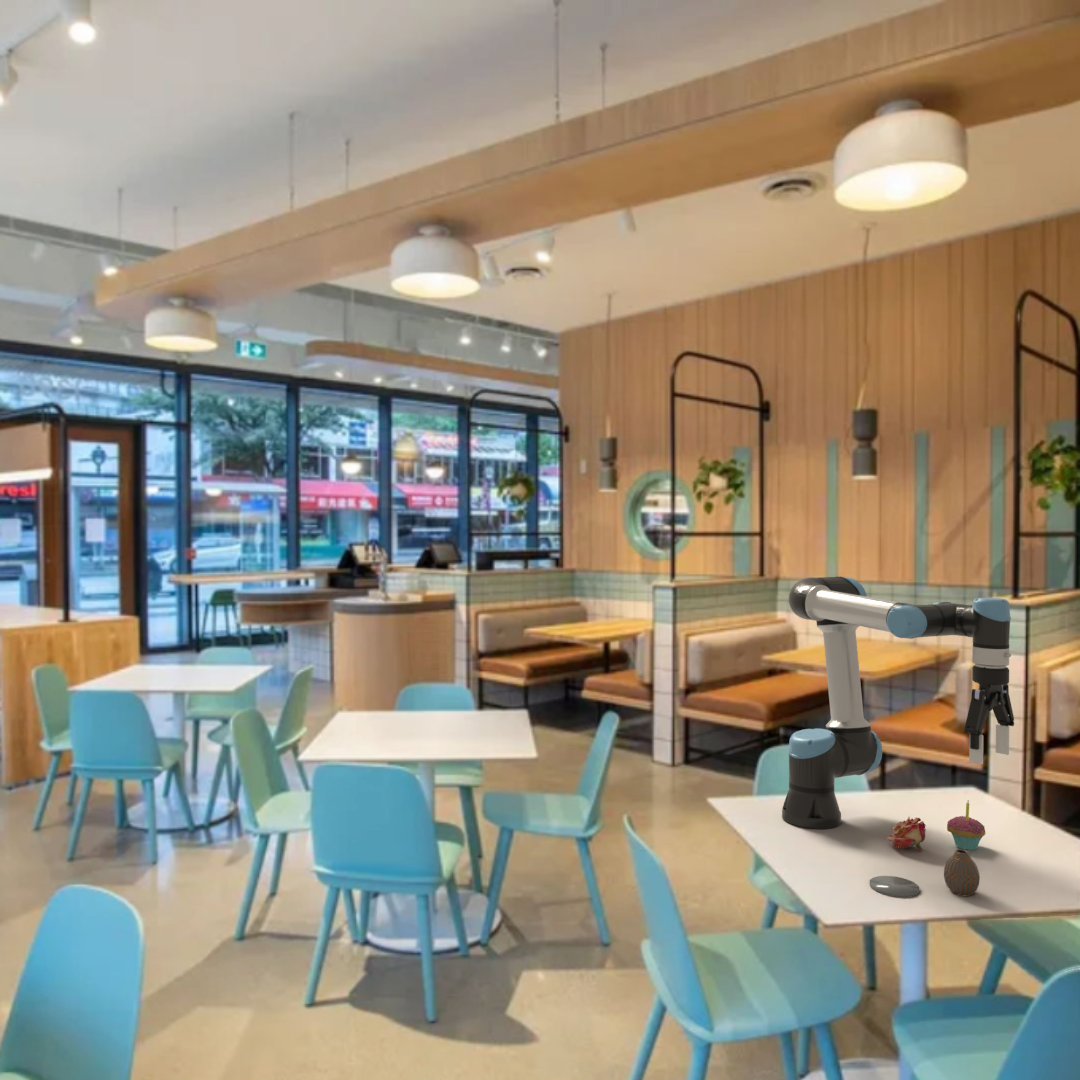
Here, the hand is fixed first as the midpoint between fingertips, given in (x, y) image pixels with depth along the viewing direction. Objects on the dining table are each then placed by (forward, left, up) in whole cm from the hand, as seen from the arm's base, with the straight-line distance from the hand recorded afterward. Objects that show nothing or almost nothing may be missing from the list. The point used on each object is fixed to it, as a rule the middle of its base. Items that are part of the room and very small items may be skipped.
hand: (989, 758), depth 201 cm
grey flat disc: (-7, -28, -25) cm, 38 cm away
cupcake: (-10, +9, -25) cm, 29 cm away
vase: (+3, -18, -25) cm, 32 cm away
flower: (-18, -4, -25) cm, 31 cm away
